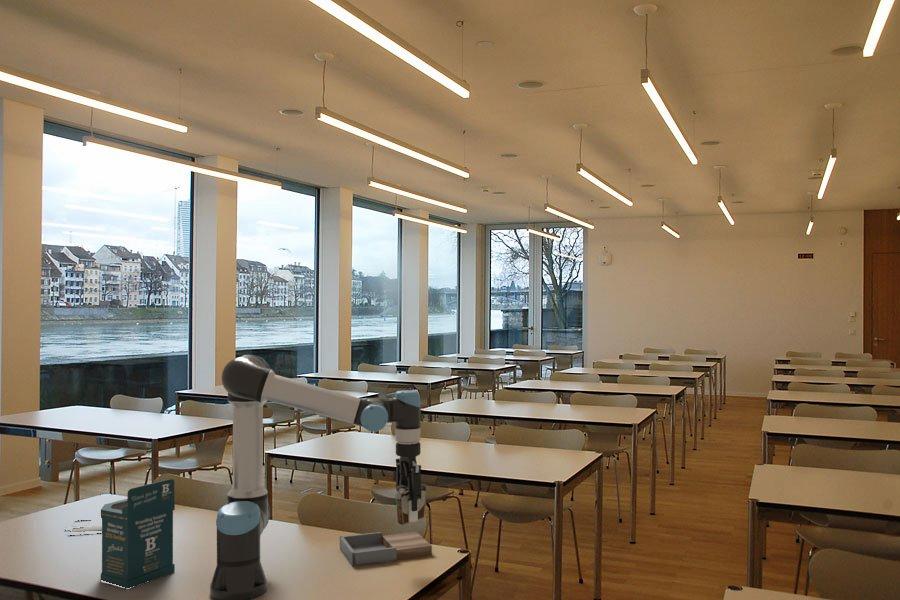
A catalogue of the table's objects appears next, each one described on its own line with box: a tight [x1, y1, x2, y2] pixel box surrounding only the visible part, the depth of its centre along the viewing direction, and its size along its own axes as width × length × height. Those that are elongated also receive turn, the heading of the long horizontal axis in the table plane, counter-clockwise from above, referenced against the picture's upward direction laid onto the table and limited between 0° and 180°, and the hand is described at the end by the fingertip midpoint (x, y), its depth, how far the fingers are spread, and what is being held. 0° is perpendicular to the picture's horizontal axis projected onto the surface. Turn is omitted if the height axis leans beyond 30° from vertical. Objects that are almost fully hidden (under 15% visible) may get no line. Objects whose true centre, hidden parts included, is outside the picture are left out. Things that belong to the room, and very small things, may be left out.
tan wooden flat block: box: [382, 531, 433, 561], centre depth 238 cm, size 16×12×3 cm
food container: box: [393, 483, 429, 526], centre depth 222 cm, size 12×6×10 cm, turn 139°
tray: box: [339, 531, 398, 567], centre depth 233 cm, size 18×14×4 cm
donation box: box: [100, 478, 176, 588], centre depth 216 cm, size 16×16×28 cm
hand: (408, 518), depth 221 cm, fingers closed on food container, 6 cm apart
